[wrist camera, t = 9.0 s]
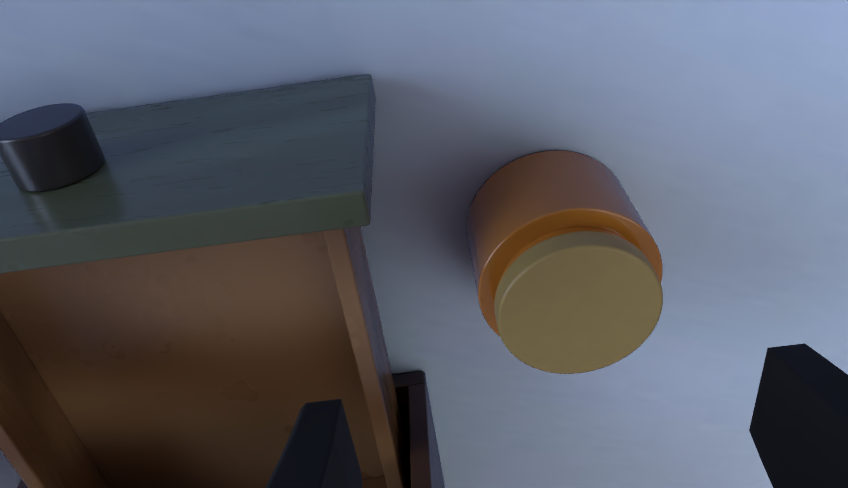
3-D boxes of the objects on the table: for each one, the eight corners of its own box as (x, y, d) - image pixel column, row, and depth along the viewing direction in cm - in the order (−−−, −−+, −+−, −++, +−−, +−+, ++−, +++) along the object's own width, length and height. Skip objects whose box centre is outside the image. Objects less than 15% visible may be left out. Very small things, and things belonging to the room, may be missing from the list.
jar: (549, 309, 22) (580, 409, 18) (433, 237, 20) (443, 332, 17) (660, 207, 20) (719, 297, 16) (543, 117, 18) (580, 196, 15)
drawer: (-159, 99, 17) (-395, 231, 12) (362, 25, 16) (351, 129, 11) (98, 495, 26) (26, 667, 21) (438, 455, 25) (451, 620, 20)
